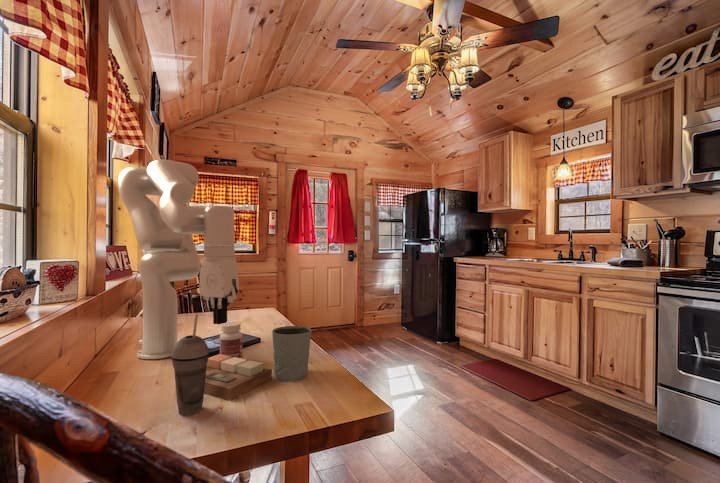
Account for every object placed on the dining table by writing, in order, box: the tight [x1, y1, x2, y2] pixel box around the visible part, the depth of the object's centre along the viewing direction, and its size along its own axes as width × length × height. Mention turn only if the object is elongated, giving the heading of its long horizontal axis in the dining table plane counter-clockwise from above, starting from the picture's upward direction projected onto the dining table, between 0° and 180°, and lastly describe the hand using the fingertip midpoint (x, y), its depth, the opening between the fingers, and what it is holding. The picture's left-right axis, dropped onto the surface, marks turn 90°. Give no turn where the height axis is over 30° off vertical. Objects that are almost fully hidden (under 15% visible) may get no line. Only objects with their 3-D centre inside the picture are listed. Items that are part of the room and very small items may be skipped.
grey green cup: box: [271, 325, 313, 382], centre depth 98 cm, size 10×10×12 cm
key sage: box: [237, 360, 264, 377], centre depth 93 cm, size 4×4×2 cm
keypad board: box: [204, 366, 273, 401], centre depth 93 cm, size 18×14×3 cm
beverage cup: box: [170, 314, 210, 416], centre depth 78 cm, size 7×7×20 cm
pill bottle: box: [219, 321, 243, 359], centre depth 107 cm, size 6×6×11 cm
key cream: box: [221, 357, 248, 373], centre depth 96 cm, size 4×4×2 cm
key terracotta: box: [207, 353, 232, 369], centre depth 98 cm, size 4×4×2 cm
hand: (220, 323), depth 98 cm, fingers closed
